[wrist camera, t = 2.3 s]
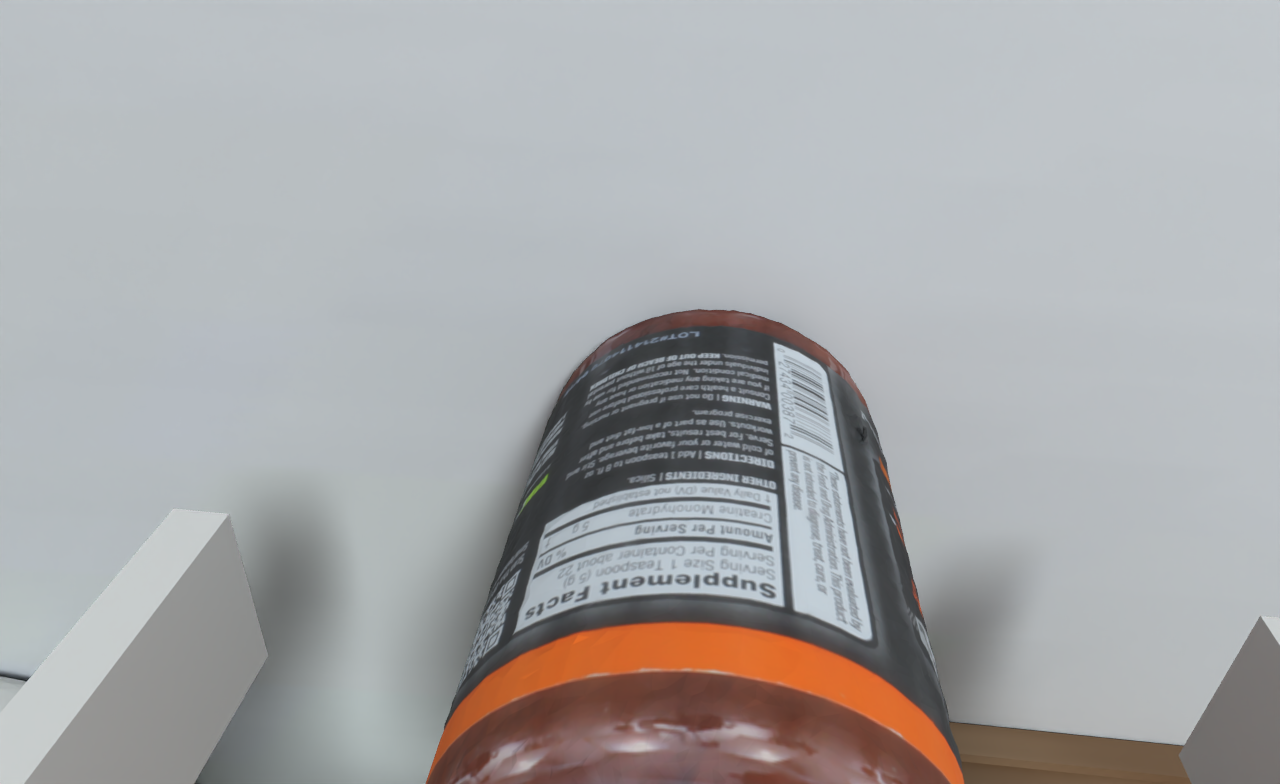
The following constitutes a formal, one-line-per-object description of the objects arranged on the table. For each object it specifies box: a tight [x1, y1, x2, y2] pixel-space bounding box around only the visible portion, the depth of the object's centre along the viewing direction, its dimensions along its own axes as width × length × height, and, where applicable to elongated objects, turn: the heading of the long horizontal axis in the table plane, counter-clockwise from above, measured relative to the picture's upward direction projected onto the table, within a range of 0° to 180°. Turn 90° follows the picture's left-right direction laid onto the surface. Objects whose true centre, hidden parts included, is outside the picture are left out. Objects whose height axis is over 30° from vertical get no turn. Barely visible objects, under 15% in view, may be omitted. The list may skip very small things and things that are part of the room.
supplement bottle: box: [426, 309, 965, 784], centre depth 12 cm, size 6×6×11 cm
